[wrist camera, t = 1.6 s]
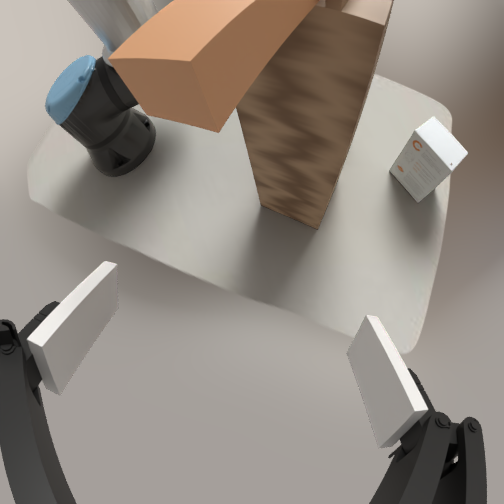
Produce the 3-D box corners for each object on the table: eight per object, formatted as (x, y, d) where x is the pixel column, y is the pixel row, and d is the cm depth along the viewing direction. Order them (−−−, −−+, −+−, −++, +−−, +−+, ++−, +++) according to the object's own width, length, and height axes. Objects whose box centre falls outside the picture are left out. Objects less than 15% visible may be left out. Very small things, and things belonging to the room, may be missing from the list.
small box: (435, 186, 42) (469, 153, 30) (417, 204, 42) (452, 172, 30) (407, 154, 44) (433, 114, 32) (387, 170, 44) (414, 130, 31)
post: (260, 205, 45) (200, -20, 9) (285, 157, 47) (270, -55, 10) (317, 229, 43) (388, 7, 7) (338, 178, 45) (400, -30, 8)
